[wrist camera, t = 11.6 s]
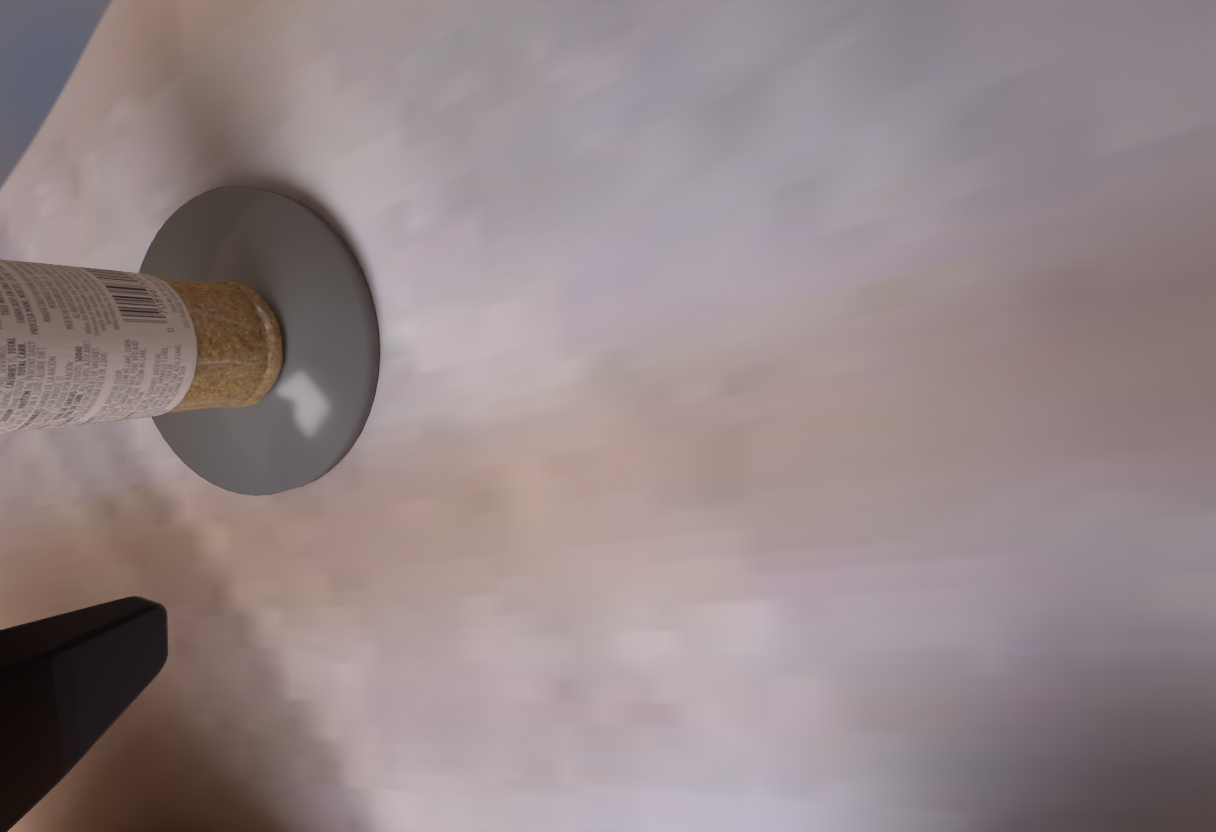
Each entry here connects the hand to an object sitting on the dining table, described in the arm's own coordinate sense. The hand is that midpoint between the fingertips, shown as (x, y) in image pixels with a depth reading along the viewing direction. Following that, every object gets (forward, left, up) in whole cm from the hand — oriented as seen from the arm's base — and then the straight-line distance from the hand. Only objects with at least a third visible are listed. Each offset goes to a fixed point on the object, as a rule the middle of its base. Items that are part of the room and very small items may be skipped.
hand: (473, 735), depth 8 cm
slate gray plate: (+2, +17, -12) cm, 20 cm away
